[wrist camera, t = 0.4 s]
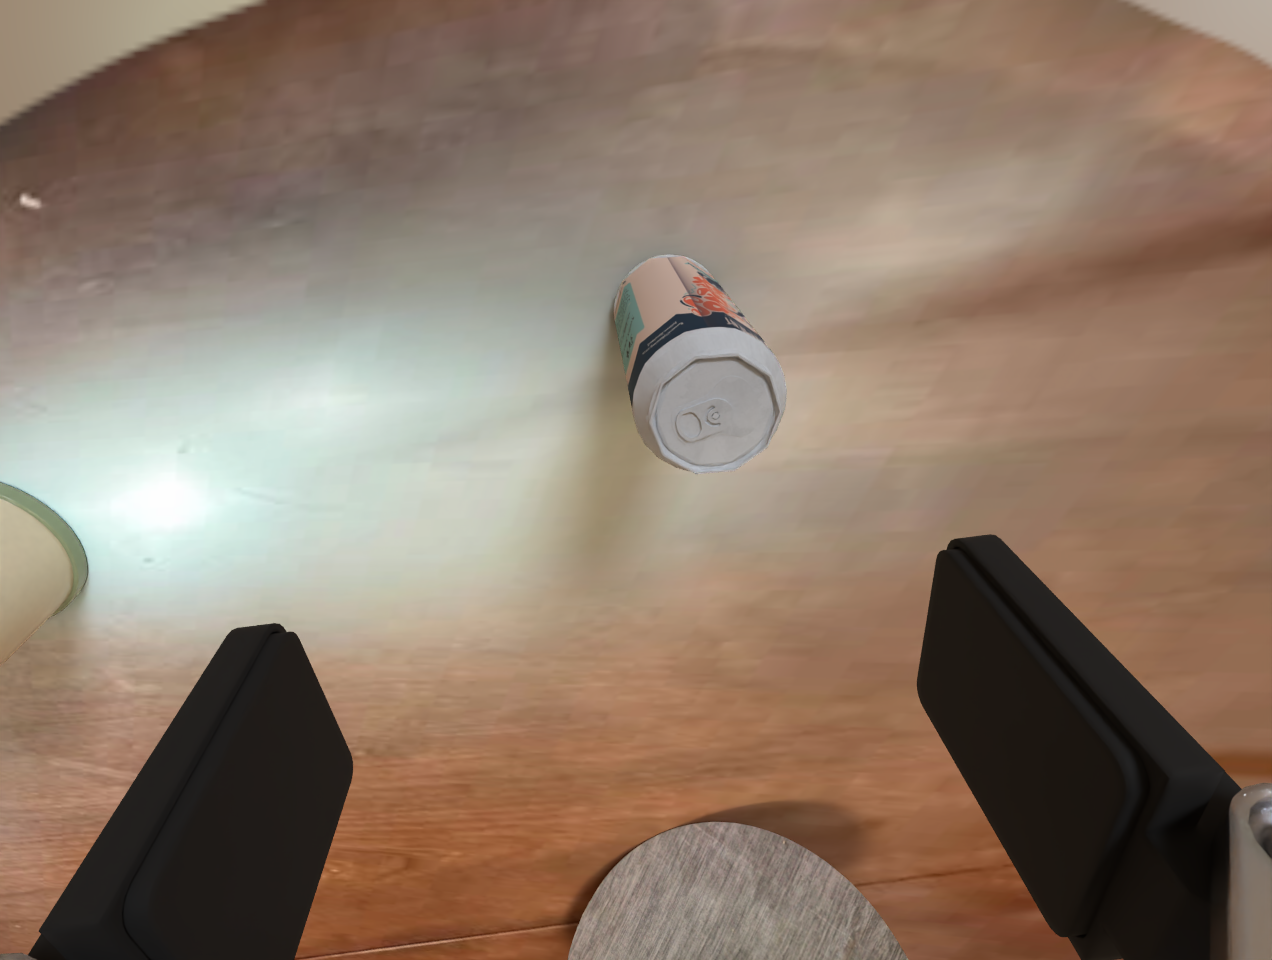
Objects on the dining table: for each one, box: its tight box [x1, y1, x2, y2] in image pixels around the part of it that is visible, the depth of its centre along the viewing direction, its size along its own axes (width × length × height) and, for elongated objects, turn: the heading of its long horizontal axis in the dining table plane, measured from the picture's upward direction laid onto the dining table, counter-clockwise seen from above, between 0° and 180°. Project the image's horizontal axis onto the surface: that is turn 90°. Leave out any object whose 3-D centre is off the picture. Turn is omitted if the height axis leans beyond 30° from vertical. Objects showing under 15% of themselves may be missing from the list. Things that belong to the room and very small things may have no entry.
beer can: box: [614, 254, 787, 474], centre depth 25 cm, size 5×5×12 cm
